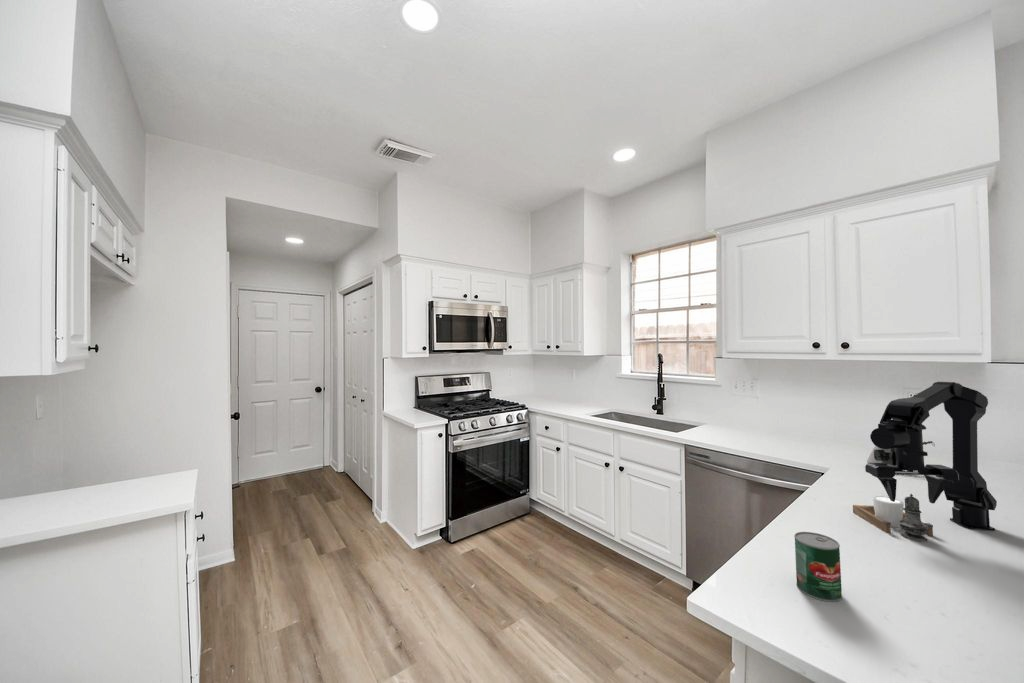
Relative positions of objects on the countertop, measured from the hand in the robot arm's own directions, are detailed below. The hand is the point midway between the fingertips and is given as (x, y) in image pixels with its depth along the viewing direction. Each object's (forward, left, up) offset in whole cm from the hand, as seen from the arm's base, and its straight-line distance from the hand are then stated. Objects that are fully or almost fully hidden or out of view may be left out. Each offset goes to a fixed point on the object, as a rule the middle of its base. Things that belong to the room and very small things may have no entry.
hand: (912, 502), depth 109 cm
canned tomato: (+39, +33, -10) cm, 52 cm away
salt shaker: (0, 0, -10) cm, 10 cm away
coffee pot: (-40, -67, -10) cm, 79 cm away
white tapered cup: (0, -9, -10) cm, 14 cm away
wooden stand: (0, -8, -10) cm, 13 cm away
